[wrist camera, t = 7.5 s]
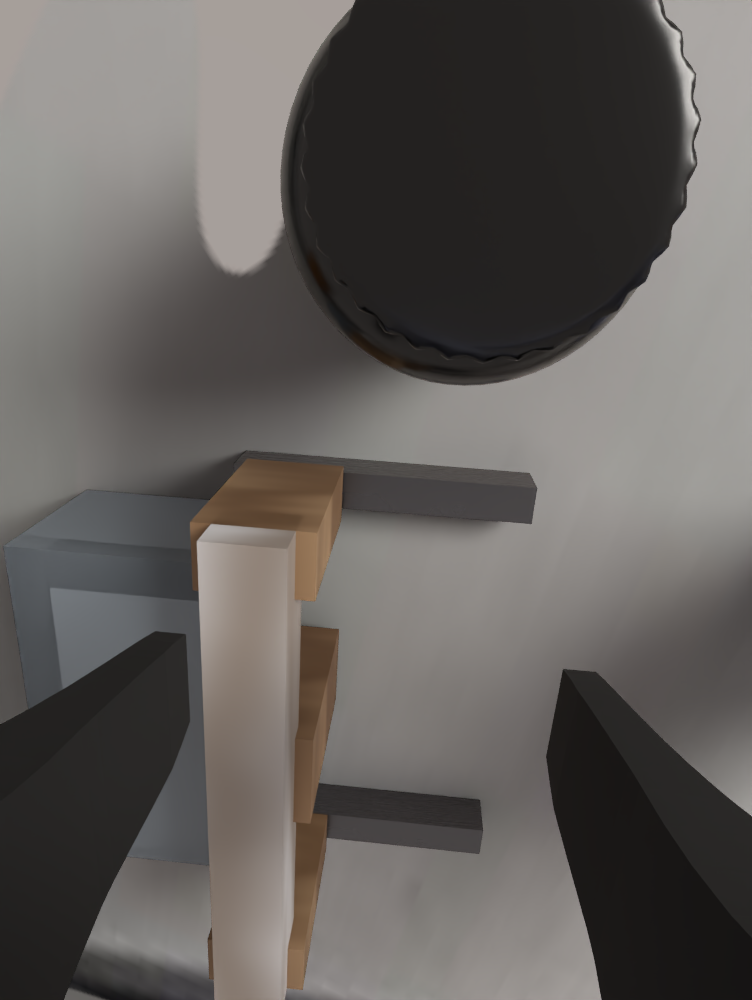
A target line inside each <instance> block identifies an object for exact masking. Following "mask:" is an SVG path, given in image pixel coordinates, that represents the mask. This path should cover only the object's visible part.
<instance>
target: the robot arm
mask: <svg viewBox="0 0 752 1000" xmlns="http://www.w3.org/2000/svg"><path fill="white" fill-rule="evenodd" d="M189 723H190V705H189V685H188V664H187V643H186V634H180V633H170V632H159V631H155V632H153V633H151V634H149V635H148V636H146V637H144V638H143V639H141V640H139V641H138V642H136V643H135V644H133V645H132V646H130V647H129V648H127V649H125V650H124V651H122V652H121V653H119V654H118V655H116V656H115V657H113V658H112V659H110V660H109V661H107V662H106V663H104V664H102V665H101V666H99V667H98V668H96V669H95V670H93V671H91V672H90V673H88V674H87V675H85V676H84V677H82V678H80V679H79V680H77V681H76V682H74V683H73V684H71V685H69V686H68V687H66V688H64V689H62V690H61V691H59V692H57V693H56V694H54V695H52V696H50V697H49V698H47V699H45V700H43V701H42V702H40V703H38V704H37V705H35V706H33V707H31V708H30V709H28V710H26V711H25V712H23V713H21V714H19V715H17V716H15V717H14V718H12V719H10V720H8V721H6V722H4V723H2V724H0V1000H64V998H65V995H66V992H67V990H68V988H69V985H70V982H71V980H72V977H73V975H74V972H75V970H76V967H77V965H78V962H79V960H80V957H81V955H82V952H83V950H84V948H85V945H86V943H87V940H88V938H89V936H90V933H91V931H92V928H93V926H94V924H95V921H96V919H97V916H98V914H99V911H100V909H101V907H102V904H103V902H104V900H105V898H106V896H107V894H108V892H109V890H110V888H111V886H112V884H113V881H114V879H115V877H116V876H117V874H118V872H119V870H120V868H121V866H122V864H123V862H124V860H125V859H126V857H127V855H128V853H129V851H130V849H131V847H132V845H133V843H134V842H135V840H136V838H137V836H138V834H139V832H140V830H141V828H142V827H143V825H144V823H145V821H146V819H147V817H148V815H149V813H150V811H151V810H152V808H153V806H154V804H155V802H156V800H157V798H158V796H159V794H160V792H161V790H162V789H163V787H164V785H165V783H166V781H167V779H168V777H169V775H170V773H171V771H172V769H173V766H174V764H175V761H176V759H177V756H178V753H179V751H180V748H181V746H182V743H183V740H184V737H185V734H186V732H187V729H188V726H189ZM546 758H547V765H548V773H549V780H550V787H551V793H552V800H553V806H554V811H555V815H556V819H557V822H558V826H559V830H560V833H561V837H562V841H563V844H564V848H565V852H566V855H567V859H568V862H569V866H570V870H571V873H572V877H573V880H574V884H575V888H576V891H577V895H578V898H579V902H580V905H581V909H582V913H583V916H584V920H585V923H586V927H587V931H588V935H589V939H590V943H591V947H592V952H593V956H594V960H595V965H596V971H597V976H598V982H599V988H600V993H601V999H602V1000H752V816H751V815H749V814H748V813H747V812H745V811H744V810H743V809H741V808H740V807H739V806H738V805H736V804H735V803H734V802H733V801H731V800H730V799H729V798H728V797H726V796H725V795H724V794H723V793H722V792H720V791H719V790H718V789H717V788H716V787H715V786H713V785H712V784H711V783H710V782H709V781H708V780H707V779H705V778H704V777H703V776H702V775H701V774H700V773H699V772H697V771H696V770H695V769H694V768H693V767H692V766H691V765H690V764H688V763H687V762H686V761H685V760H684V759H683V758H682V757H681V756H680V755H679V754H678V753H677V752H675V751H674V750H673V749H672V748H671V747H670V746H669V745H668V744H667V743H666V742H665V741H664V740H663V739H662V738H661V737H660V736H659V735H658V734H657V733H656V732H655V731H654V730H653V729H652V728H651V727H650V726H649V725H648V724H647V723H646V722H645V721H644V720H643V719H642V718H641V717H640V716H639V715H638V714H637V713H636V712H635V711H634V710H633V709H632V708H631V707H630V706H629V705H628V704H627V703H626V702H625V701H624V700H623V699H622V698H621V697H620V696H619V695H618V694H617V692H616V691H615V690H614V689H613V688H612V687H611V686H610V685H609V684H608V683H607V682H606V681H605V680H604V679H603V678H602V677H601V676H600V675H599V674H598V673H596V672H589V671H578V670H567V669H563V673H562V678H561V683H560V688H559V693H558V699H557V704H556V709H555V714H554V719H553V724H552V730H551V735H550V740H549V745H548V750H547V755H546Z"/></svg>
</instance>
